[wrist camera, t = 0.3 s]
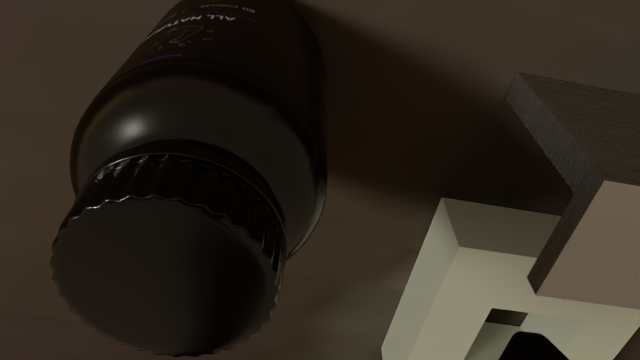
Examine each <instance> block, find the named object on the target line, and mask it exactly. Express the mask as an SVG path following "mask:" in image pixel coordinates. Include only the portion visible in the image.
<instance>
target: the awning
mask: <svg viewBox="0 0 640 360" xmlns="http://www.w3.org/2000/svg"><path fill="white" fill-rule="evenodd" d="M506 100H507V102H508V103H509V105H510V106H511V107H512V109H513V110H514V111H515V113H516V114H517V115H518V117H519V118H520V120H521V121H522V122H523V124H524V125H525V126H526V128H527V129H528V131H529V132H530V133H531V135H532V136H533V137H534V139H535V140H536V142H537V143H538V144H539V146H540V147H541V148H542V150H543V151H544V152H545V154H546V155H547V157H548V158H549V159H550V161H551V162H552V163H553V165H554V166H555V168H556V169H557V170H558V172H559V173H560V174H561V176H562V177H563V179H564V180H565V181H566V183H567V184H568V185H569V187H570V188H571V189H572V191H573V192H574V195H573V197H572V199H571V201H570V202H569V204H568V206H567V208H566V209H565V211H564V213H563V215H562V216H561V218H560V220H559V222H558V223H557V225H556V227H555V229H554V230H553V232H552V234H551V236H550V237H549V239H548V241H547V242H546V244H545V246H544V248H543V249H542V251H541V253H540V255H539V256H538V258H537V260H536V262H535V263H534V265H533V267H532V269H531V270H530V272H529V274H528V276H527V279H528V281H529V283H530V285H531V287H532V289H533V291H534V293H535V295H537V296H544V297H551V298H559V299H566V300H573V301H580V302H588V303H595V304H602V305H610V306H617V307H624V308H631V309H639V310H640V96H639V95H634V94H629V93H623V92H618V91H613V90H608V89H603V88H597V87H592V86H587V85H582V84H576V83H571V82H566V81H561V80H555V79H550V78H545V77H540V76H534V75H529V74H524V73H519V72H517V73H516V76H515V78H514V80H513V83H512V85H511V87H510V90H509V92H508V94H507V97H506Z"/></svg>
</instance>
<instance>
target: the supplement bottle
mask: <svg viewBox="0 0 640 360" xmlns="http://www.w3.org/2000/svg"><path fill="white" fill-rule="evenodd" d="M70 175H71V181H72V186H73V190H74V193H75V196H76V199H75V202H74V205H73V207H72V208H71V210H70V211H69V213H68V215H67V216H66V218H65V219H64V221H63V222H62V224H61V226H60V228H59V232H58V235H57V237H56V238H55V240H54V242H53V245H52V252H53V256H52V258H51V261H50V265H51V267H52V269H53V271H54V274H53V279H52V280H53V281H54V283H55V284H56V285H57V286H58V288H59V296H60V297H62V298H63V299H64V300H65V301H66V302H67V304H68V307H69V309H70V310H71V311H72V312H73V313H75V314H77V315H78V316H79V317H80V319H81V320H82V322H83V323H84V324H86V325H88V326H90V327H92V328H94V329H95V330H96V331H97V332H98V333H99V334H100V335H103V336H106V337H109V338H111V339H112V340H113V341H115V342H116V343H117V344H122V345H126V346H129V347H131V348H133V349H135V350H137V351H147V352H150V353H152V354H155V355H170V356H174V357H180V356H193V357H197V356H200V355H203V354H216V353H218V352H219V351H221V350H229V349H232V348H234V347H235V346H236V345H237V344H240V343H244V342H247V341H248V340H249V339H250V337H251V335H253V334H256V333H258V332H260V330H261V328H262V325H263V324H265V323H266V322H268V321H269V320H270V318H271V315H272V310H274V308H275V307H276V306H277V303H278V300H279V291H280V287H281V282H282V272H283V270H284V267H285V264H286V261H287V260H288V259H289V258H291V257H292V256H293V255H294V254H295V253H296V252H297V251H298V250H299V249H300V248H301V247H302V246H303V245H304V244H305V242H306V241H307V240H308V238H309V237H310V236H311V234H312V233H313V231H314V229H315V227H316V226H317V224H318V221H319V219H320V216H321V214H322V211H323V207H324V204H325V197H326V189H327V109H326V73H325V63H324V58H323V54H322V50H321V47H320V45H319V42H318V40H317V38H316V36H315V34H314V32H313V30H312V29H311V27H310V26H309V24H308V23H307V22H306V20H305V19H304V18H303V17H302V16H301V15H300V14H299V13H298V12H297V11H296V10H295V9H294V8H293V7H292V6H290V5H289V4H288V3H286V2H285V1H283V0H182V1H180V2H179V3H177V4H176V5H175V6H174V7H173V8H172V9H171V10H170V11H169V12H168V13H167V14H166V15H165V16H164V17H163V18H162V19H161V21H160V22H159V23H158V24H157V25H156V26H155V28H154V29H153V30H152V31H151V32H150V33H149V35H148V36H147V37H146V38H145V39H144V40H143V42H142V43H141V44H140V45H139V46H138V48H137V49H136V50H135V51H134V52H133V53H132V55H131V56H130V57H129V58H128V59H127V60H126V62H125V63H124V64H123V65H122V66H121V67H120V69H119V70H118V71H117V72H116V73H115V74H114V76H113V77H112V78H111V79H110V80H109V81H108V83H107V84H106V85H105V86H104V87H103V89H102V90H101V91H100V92H99V93H98V94H97V96H96V97H95V98H94V99H93V101H92V102H91V104H90V105H89V106H88V108H87V109H86V111H85V113H84V114H83V116H82V117H81V119H80V121H79V123H78V125H77V127H76V130H75V133H74V136H73V140H72V145H71V150H70Z"/></svg>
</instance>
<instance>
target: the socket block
mask: <svg viewBox="0 0 640 360" xmlns="http://www.w3.org/2000/svg"><path fill="white" fill-rule="evenodd" d="M560 218H561V216H557V215H551V214H544V213H538V212H532V211H525V210H519V209H513V208H506V207H500V206H494V205H487V204H481V203H475V202H468V201H462V200H456V199H449V198H443V197H442V198H441V200H440V203H439V205H438V208H437V210H436V213H435V215H434V218H433V220H432V223H431V225H430V228H429V230H428V233H427V235H426V238H425V240H424V243H423V245H422V248H421V250H420V253H419V255H418V258H417V260H416V263H415V265H414V268H413V270H412V273H411V275H410V278H409V280H408V283H407V285H406V287H405V290H404V292H403V295H402V297H401V300H400V302H399V305H398V307H397V310H396V312H395V315H394V317H393V320H392V322H391V325H390V327H389V330H388V332H387V335H386V337H385V340H384V342H383V345H382V347H381V349H382V357H383V360H499V358H500V356H501V354H502V353H503V351H504V349H505V347H506V346H507V344H508V342H509V340H510V339H511V337H512V336H513V334H514V333H516V332H518V331H525V332H533V333H539V334H542V335H544V336H545V337H546V338H548V339H549V340H550V341H551V342H552V343H553V344H554V345H555V346H556V347H557V348H558V349H559V350H560V351H561V352H562V353H563V354H564V355H565V356H566V357H567V358H568V359H569V360H613V359H614V358H615V356H616V355H617V354H618V353H619V351H620V350H621V349H622V348H623V346H624V345H625V344H626V343H627V341H628V340H629V339H630V338H631V336H632V335H633V334H634V333H635V331H636V330H637V329H638V327H639V326H640V310H639V309H631V308H624V307H617V306H610V305H602V304H595V303H588V302H580V301H573V300H566V299H559V298H551V297H544V296H537V295H535V293H534V291H533V289H532V287H531V285H530V283H529V281H528V279H527V276H528V274H529V272H530V270H531V269H532V267H533V265H534V263H535V262H536V260H537V258H538V256H539V255H540V253H541V251H542V249H543V248H544V246H545V244H546V242H547V241H548V239H549V237H550V236H551V234H552V232H553V230H554V229H555V227H556V225H557V223H558V222H559V220H560ZM492 308H497V309H504V310H512V311H519V312H527V313H528V315H527V316H526V318H525V320H524V321H523V323H522V325H521V326H520V327H519V326H512V325H504V324H496V323H488V322H484V321H485V320H486V318H487V316H488V314H489V312H490V310H491V309H492Z"/></svg>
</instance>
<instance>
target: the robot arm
mask: <svg viewBox="0 0 640 360" xmlns="http://www.w3.org/2000/svg"><path fill="white" fill-rule="evenodd" d="M499 360H569V359H568V358H567V357H566V356H565V355H564V354H563V353H562V352H561V351H560V350H559V349H558V348H557V347H556V346H555V345H554V344H553V343H552V342H551V341H550V340H549V339H548V338H546V337H545V336H544V335H542V334H539V333H533V332H525V331H518V332H516V333H514V334H513V336H512V337H511V339H510V340H509V342H508V344H507V346H506V347H505V349H504V351H503V353H502V354H501V356H500V358H499Z"/></svg>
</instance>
